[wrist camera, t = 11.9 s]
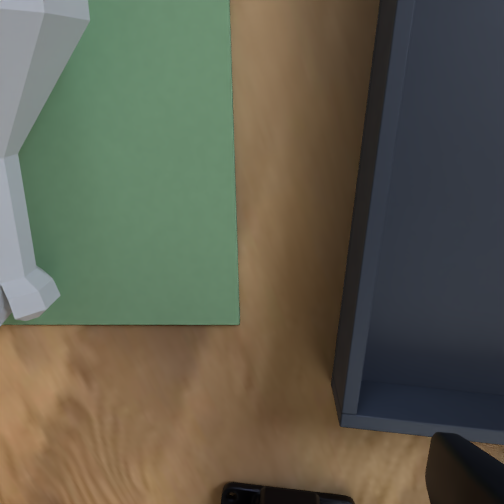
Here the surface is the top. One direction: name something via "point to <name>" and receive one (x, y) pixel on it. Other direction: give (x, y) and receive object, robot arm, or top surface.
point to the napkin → (138, 170)
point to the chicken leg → (17, 129)
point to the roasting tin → (428, 229)
